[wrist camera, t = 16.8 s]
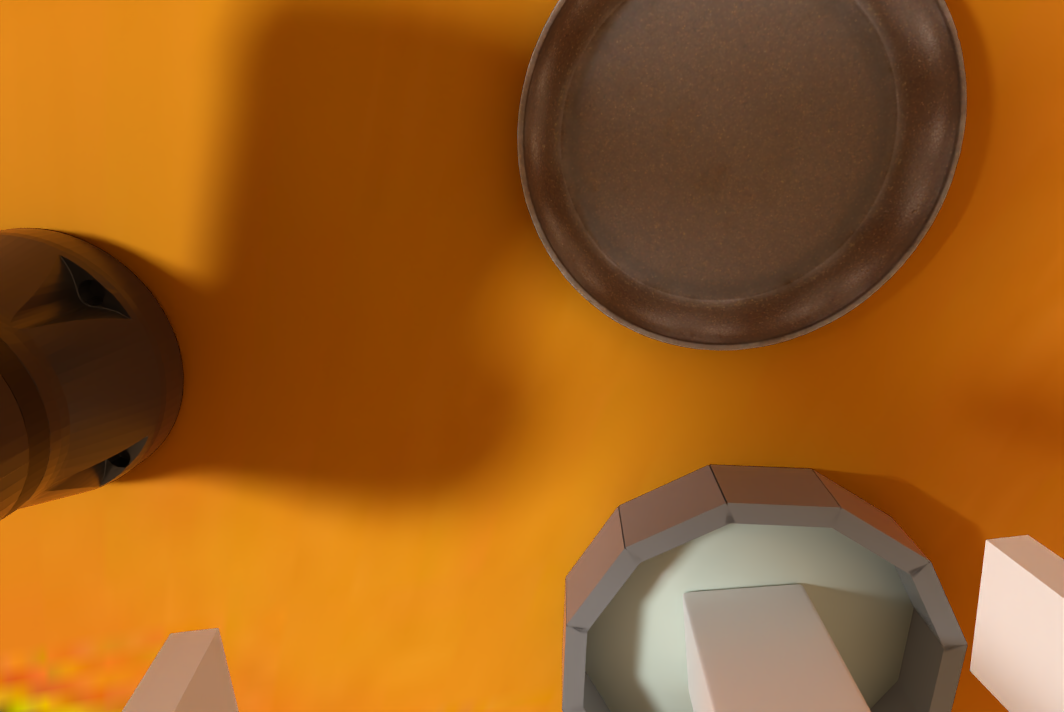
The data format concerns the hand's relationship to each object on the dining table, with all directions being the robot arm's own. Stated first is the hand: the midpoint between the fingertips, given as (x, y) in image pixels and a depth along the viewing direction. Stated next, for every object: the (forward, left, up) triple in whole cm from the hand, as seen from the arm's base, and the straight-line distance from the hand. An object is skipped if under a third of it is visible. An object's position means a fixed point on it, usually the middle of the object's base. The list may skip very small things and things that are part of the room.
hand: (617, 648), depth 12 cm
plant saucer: (+7, +9, -28) cm, 30 cm away
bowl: (+11, -20, -28) cm, 36 cm away
